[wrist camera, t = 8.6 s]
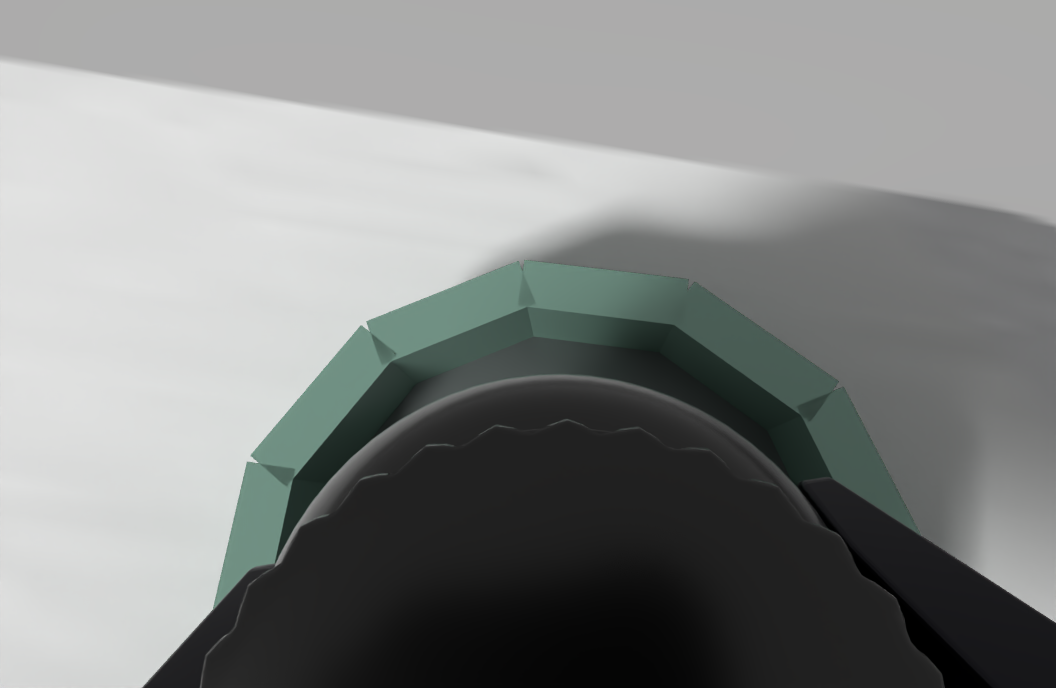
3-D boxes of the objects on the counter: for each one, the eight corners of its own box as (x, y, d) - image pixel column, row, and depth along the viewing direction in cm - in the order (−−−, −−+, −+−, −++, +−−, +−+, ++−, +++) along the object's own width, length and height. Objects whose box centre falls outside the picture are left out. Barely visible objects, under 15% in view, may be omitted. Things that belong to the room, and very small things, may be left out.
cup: (852, 986, 14) (924, 1109, 11) (219, 859, 15) (136, 939, 12) (875, 343, 17) (937, 308, 14) (343, 279, 18) (299, 233, 15)
